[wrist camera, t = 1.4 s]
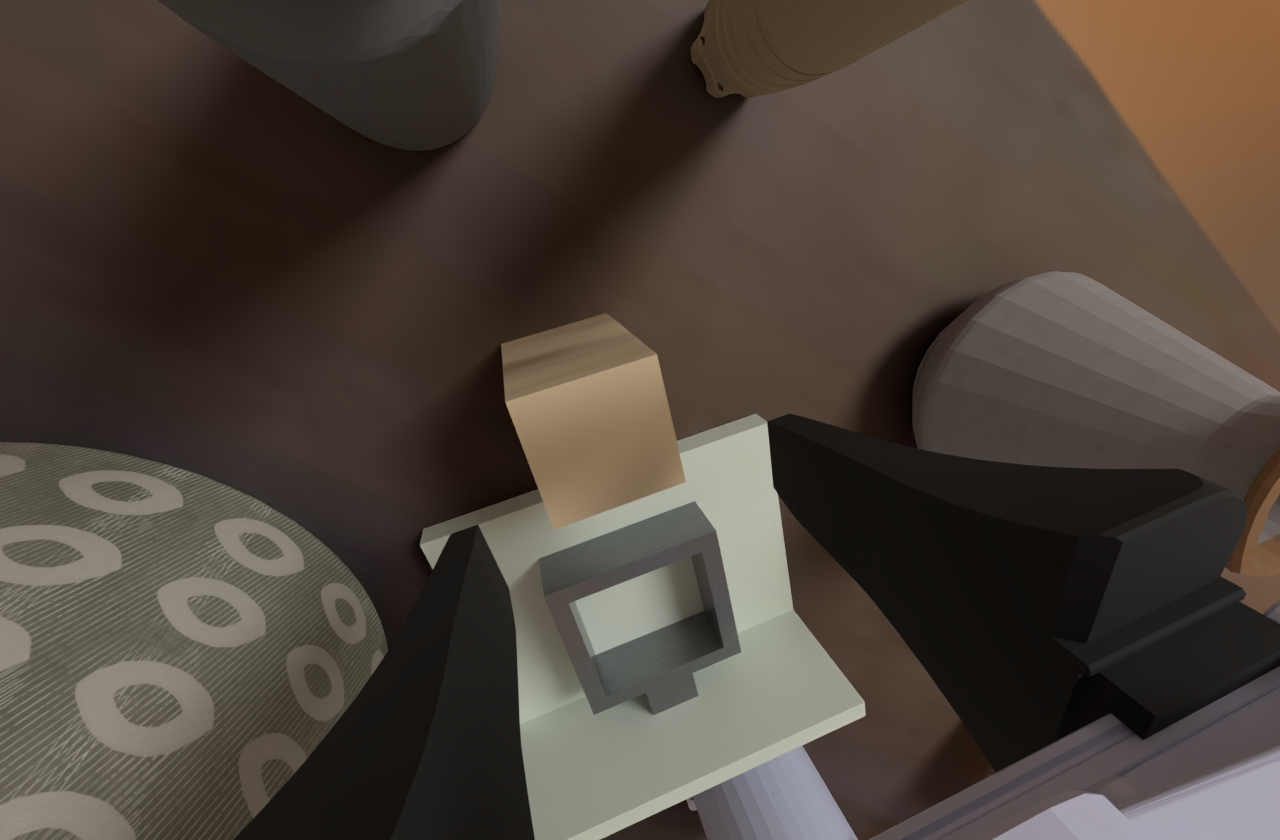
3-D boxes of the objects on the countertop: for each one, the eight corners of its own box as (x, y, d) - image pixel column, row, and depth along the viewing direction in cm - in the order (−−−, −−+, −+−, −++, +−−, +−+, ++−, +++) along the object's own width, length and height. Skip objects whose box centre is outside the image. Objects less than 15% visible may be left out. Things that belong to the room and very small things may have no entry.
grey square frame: (725, 638, 27) (746, 675, 25) (593, 693, 26) (603, 737, 24) (694, 501, 23) (716, 530, 21) (538, 558, 22) (544, 596, 20)
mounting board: (783, 607, 30) (865, 715, 23) (521, 716, 27) (530, 872, 21) (755, 413, 24) (852, 484, 18) (423, 529, 22) (394, 660, 15)
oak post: (631, 408, 22) (686, 482, 16) (536, 439, 22) (553, 529, 15) (606, 312, 20) (656, 354, 14) (501, 344, 20) (505, 401, 13)
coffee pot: (841, 398, 25) (1239, 603, 12) (1005, 214, 24) (1667, 207, 10) (1011, 570, 34) (1343, 795, 21) (1136, 444, 33) (1577, 598, 20)
